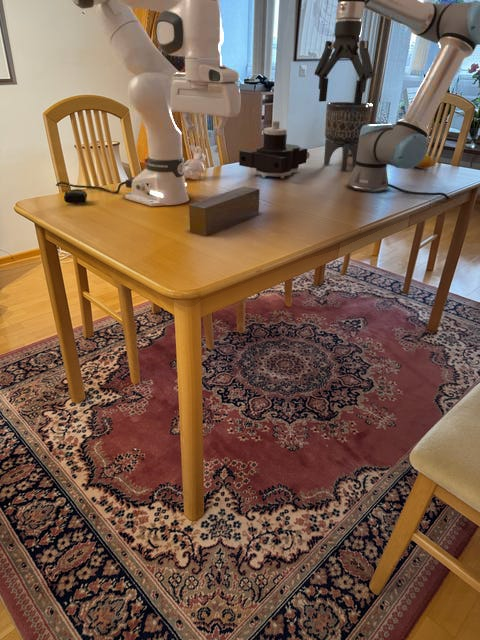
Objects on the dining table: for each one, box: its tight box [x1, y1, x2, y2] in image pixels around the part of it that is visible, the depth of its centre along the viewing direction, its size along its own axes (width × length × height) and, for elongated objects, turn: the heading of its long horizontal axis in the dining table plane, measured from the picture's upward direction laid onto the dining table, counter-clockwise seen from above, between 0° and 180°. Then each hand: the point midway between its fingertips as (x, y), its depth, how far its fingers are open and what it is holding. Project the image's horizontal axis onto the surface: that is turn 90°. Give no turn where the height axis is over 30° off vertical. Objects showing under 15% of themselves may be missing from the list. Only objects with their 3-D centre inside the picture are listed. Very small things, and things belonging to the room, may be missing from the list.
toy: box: [415, 154, 437, 169], centre depth 213 cm, size 11×6×15 cm
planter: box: [323, 101, 374, 172], centre depth 204 cm, size 20×20×26 cm
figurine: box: [184, 144, 206, 180], centre depth 182 cm, size 8×15×13 cm, turn 145°
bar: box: [188, 185, 261, 237], centre depth 135 cm, size 27×6×8 cm, turn 144°
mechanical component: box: [238, 120, 311, 179], centre depth 191 cm, size 22×21×30 cm
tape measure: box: [63, 188, 88, 205], centre depth 151 cm, size 7×7×4 cm
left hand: (204, 133), depth 117 cm, fingers open, 8 cm apart
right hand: (339, 103), depth 140 cm, fingers open, 13 cm apart
